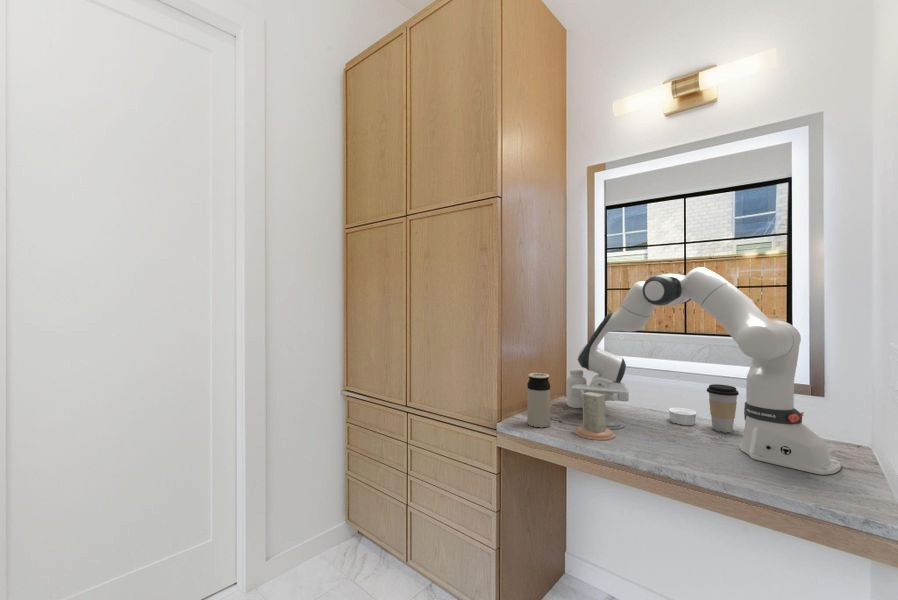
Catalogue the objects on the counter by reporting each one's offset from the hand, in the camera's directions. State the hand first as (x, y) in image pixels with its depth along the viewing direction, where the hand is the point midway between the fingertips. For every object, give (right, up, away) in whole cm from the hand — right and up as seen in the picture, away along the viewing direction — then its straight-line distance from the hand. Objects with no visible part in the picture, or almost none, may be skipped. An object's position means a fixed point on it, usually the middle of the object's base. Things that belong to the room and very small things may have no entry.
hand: (597, 397), depth 149 cm
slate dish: (+3, -10, +2) cm, 11 cm away
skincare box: (-5, -9, -9) cm, 14 cm away
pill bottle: (0, -10, +26) cm, 28 cm away
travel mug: (-21, -10, 0) cm, 24 cm away
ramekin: (+32, -10, +4) cm, 34 cm away
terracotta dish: (-4, -10, -9) cm, 14 cm away
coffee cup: (+41, -10, -5) cm, 43 cm away
